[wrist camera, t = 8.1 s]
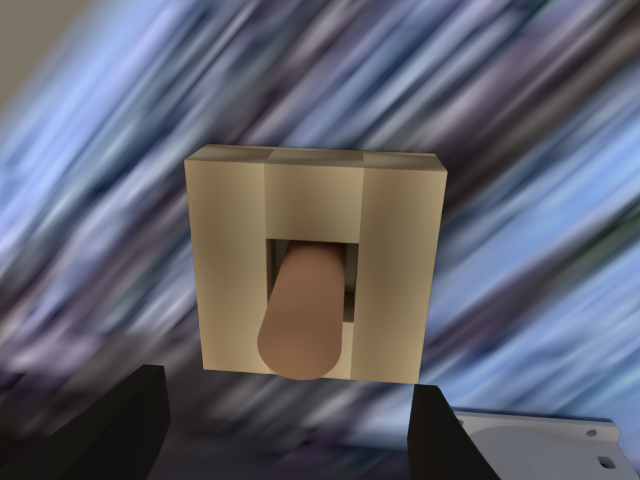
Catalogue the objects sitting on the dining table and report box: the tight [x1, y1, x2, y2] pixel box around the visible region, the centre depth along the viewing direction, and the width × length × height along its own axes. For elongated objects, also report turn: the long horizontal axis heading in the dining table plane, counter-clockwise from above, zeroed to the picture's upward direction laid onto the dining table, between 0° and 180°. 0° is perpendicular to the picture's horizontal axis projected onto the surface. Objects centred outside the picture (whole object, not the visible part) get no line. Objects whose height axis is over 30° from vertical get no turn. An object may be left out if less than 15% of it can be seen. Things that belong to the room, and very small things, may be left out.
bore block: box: [184, 144, 447, 384], centre depth 21 cm, size 10×10×3 cm
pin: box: [257, 240, 346, 380], centre depth 18 cm, size 3×3×7 cm
